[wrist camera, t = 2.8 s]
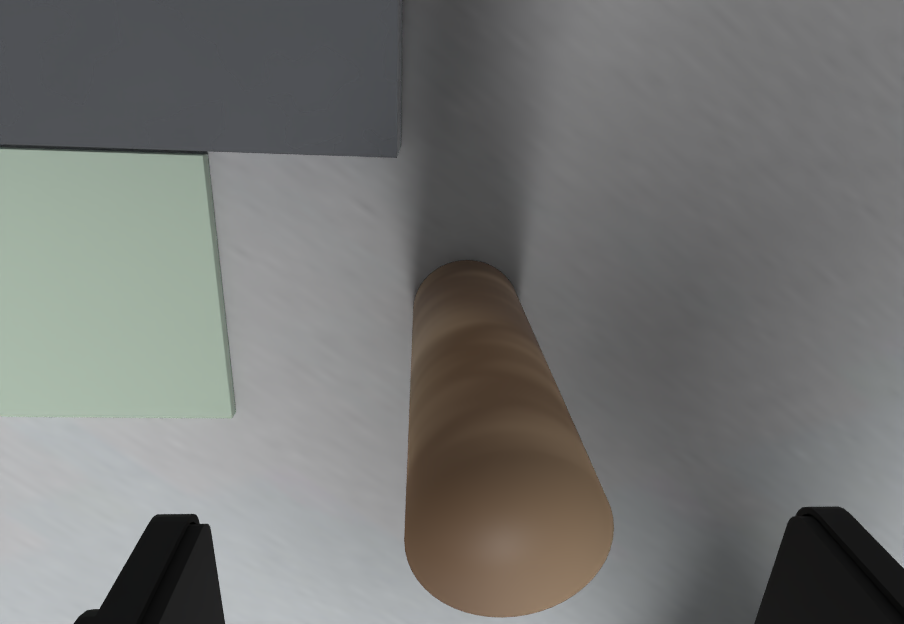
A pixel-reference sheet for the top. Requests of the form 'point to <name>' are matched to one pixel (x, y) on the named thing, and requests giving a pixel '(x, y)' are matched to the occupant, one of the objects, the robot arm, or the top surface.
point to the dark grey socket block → (203, 75)
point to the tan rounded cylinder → (494, 456)
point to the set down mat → (110, 286)
